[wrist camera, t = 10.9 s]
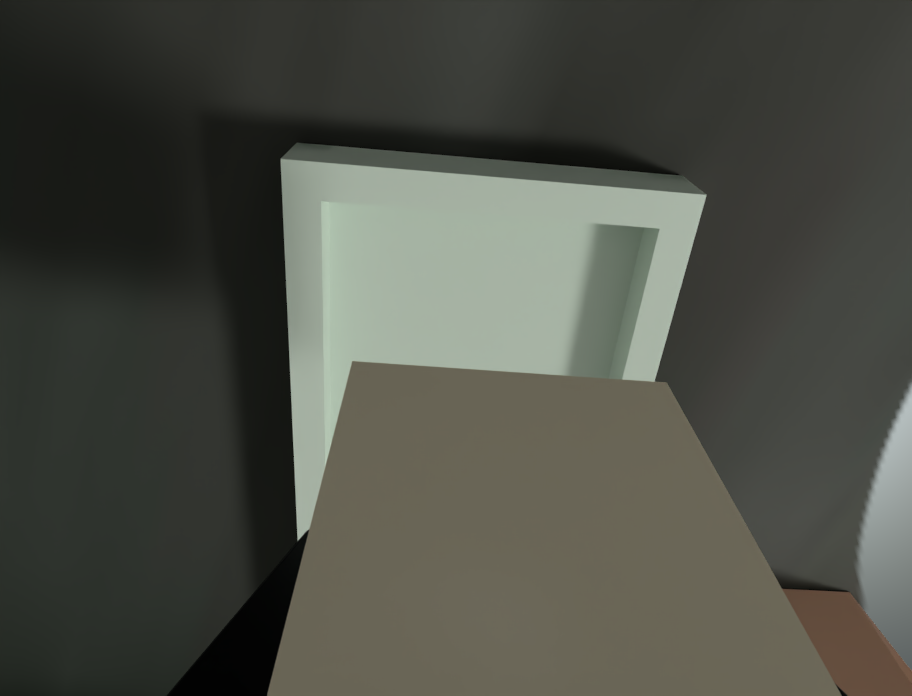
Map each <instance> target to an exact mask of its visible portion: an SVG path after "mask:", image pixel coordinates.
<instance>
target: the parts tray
mask: <svg viewBox="0 0 912 696" xmlns="http://www.w3.org/2000/svg"><path fill="white" fill-rule="evenodd" d="M281 180H282V203H283V225H284V247H285V269H286V292H287V314H288V336H289V359H290V381H291V403H292V426H293V448H294V470H295V493H296V515H297V537H298V540H299V539H300V538H301V537H302V536H303V534H304V533H305V532H306V531H307V530H309V529H310V525H311V521H312V517H313V513H314V509H315V505H316V501H317V497H318V494H319V490H320V486H321V482H322V478H323V474H324V470H325V466H326V462H327V458H328V454H329V450H330V447H331V443H332V439H333V435H334V431H335V427H336V423H337V419H338V415H339V411H340V407H341V403H342V400H343V396H344V392H345V388H346V384H347V380H348V376H349V372H350V368H351V364H352V361H359V362H373V363H388V364H403V365H417V366H432V367H446V368H461V369H476V370H490V371H505V372H520V373H534V374H549V375H564V376H578V377H593V378H607V379H622V380H637V381H651V382H654V381H655V378H656V374H657V371H658V367H659V363H660V360H661V356H662V353H663V349H664V345H665V342H666V338H667V335H668V331H669V328H670V324H671V320H672V317H673V313H674V310H675V306H676V302H677V299H678V295H679V292H680V288H681V284H682V281H683V277H684V274H685V270H686V267H687V263H688V259H689V256H690V252H691V249H692V245H693V241H694V238H695V234H696V231H697V227H698V223H699V220H700V216H701V213H702V209H703V206H704V202H705V198H706V194H705V193H703V192H702V191H701V190H700V189H698V188H697V187H696V186H695V185H693V184H692V183H691V182H689V181H688V180H687V179H686V178H684V177H683V176H681V175H669V174H657V173H646V172H634V171H622V170H611V169H599V168H587V167H576V166H564V165H552V164H541V163H529V162H517V161H506V160H494V159H483V158H471V157H459V156H448V155H436V154H424V153H413V152H401V151H389V150H378V149H366V148H354V147H343V146H331V145H319V144H308V143H296V144H295V145H294V146H293V147H292V148H291V149H290V150H289V151H288V152H287V153H286V154H285V155H284V156H283V157H282V158H281Z"/></svg>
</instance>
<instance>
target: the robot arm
mask: <svg viewBox="0 0 912 696" xmlns="http://www.w3.org/2000/svg"><path fill="white" fill-rule="evenodd" d="M308 533H309V530H307V531H306V532H305V533H304V534H303V536H302V537H301V538H300V539H299V540H298V541H297V543H296V544H295V545H294V546H293V547H292V548H291V550H290V551H289V552H288V553H287V554H286V556H285V557H284V558H283V559H282V560H281V561H280V563H279V564H278V565H277V566H276V567H275V569H274V570H273V571H272V572H271V573H270V574H269V576H268V577H267V578H266V579H265V580H264V581H263V583H262V584H261V585H260V586H259V587H258V589H257V590H256V591H255V592H254V593H253V594H252V596H251V597H250V598H249V599H248V600H247V601H246V603H245V604H244V605H243V606H242V607H241V609H240V610H239V611H238V612H237V613H236V614H235V616H234V617H233V618H232V619H231V620H230V621H229V623H228V624H227V625H226V626H225V627H224V629H223V630H222V631H221V632H220V633H219V634H218V636H217V637H216V638H215V639H214V640H213V642H212V643H211V644H210V645H209V646H208V647H207V649H206V650H205V651H204V652H203V653H202V654H201V656H200V657H199V658H198V659H197V660H196V662H195V663H194V664H193V665H192V666H191V667H190V669H189V670H188V671H187V672H186V673H185V674H184V676H183V677H182V678H181V679H180V680H179V682H178V683H177V684H176V685H175V686H174V687H173V689H172V690H171V691H170V692H169V693H168V694H167V696H267V693H268V689H269V686H270V682H271V678H272V674H273V670H274V666H275V662H276V658H277V654H278V650H279V646H280V642H281V638H282V635H283V631H284V627H285V623H286V619H287V615H288V611H289V607H290V603H291V599H292V595H293V591H294V588H295V584H296V580H297V576H298V572H299V568H300V564H301V560H302V556H303V552H304V548H305V544H306V541H307V537H308ZM836 686H837V685H836ZM837 688H838V690H839V692H840V693H841V695H842V696H848V695H847V694H846V693H845V692H844V691H843V690H842V689H840V688H839V687H838V686H837Z"/></svg>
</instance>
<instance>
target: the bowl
mask: <svg viewBox="0 0 912 696" xmlns="http://www.w3.org/2000/svg"><path fill="white" fill-rule="evenodd" d="M782 590H783V592H784V593H785V595H786V597H787V599H788V600H789V602H790V604H791V606H792V608H793V609H794V611H795V613H796V615H797V617H798V618H799V620H800V622H801V624H802V625H803V627H804V629H805V631H806V633H807V634H808V636H809V638H810V640H811V642H812V643H813V645H814V647H815V649H816V651H817V652H818V654H819V656H820V658H821V659H822V661H823V663H824V665H825V667H826V668H827V670H828V672H829V674H830V676H831V677H832V679H833V681H834V683H835V684H836V685H837V686H838V687H839V688H840V689H842V690H843V691H844V692H845V693H846V694H847V695H848V696H912V671H911V669H910V668H909V667H908V666H907V665H906V663H905V662H904V661H903V659H902V658H901V657H900V656H899V654H898V653H897V652H896V651H895V649H894V648H893V647H892V646H891V644H890V643H889V642H888V640H887V639H886V638H885V637H884V635H883V634H882V633H881V632H880V630H879V629H878V628H877V626H876V625H875V624H874V623H873V621H872V620H871V619H870V618H869V616H868V615H867V614H866V613H865V611H864V610H863V609H862V607H861V606H860V605H859V604H858V602H857V601H856V600H855V599H854V597H853V596H852V595H851V593H850V592H836V591H816V590H797V589H782Z"/></svg>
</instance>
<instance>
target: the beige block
mask: <svg viewBox="0 0 912 696" xmlns="http://www.w3.org/2000/svg"><path fill="white" fill-rule="evenodd" d="M267 696H842V695H841V693H840V692H839V690H838V688H837V686H836V684H835V683H834V681H833V679H832V677H831V676H830V674H829V672H828V670H827V668H826V667H825V665H824V663H823V661H822V659H821V658H820V656H819V654H818V652H817V651H816V649H815V647H814V645H813V643H812V642H811V640H810V638H809V636H808V634H807V633H806V631H805V629H804V627H803V625H802V624H801V622H800V620H799V618H798V617H797V615H796V613H795V611H794V609H793V608H792V606H791V604H790V602H789V600H788V599H787V597H786V595H785V593H784V592H783V590H782V588H781V586H780V584H779V583H778V581H777V579H776V577H775V575H774V574H773V572H772V570H771V568H770V566H769V565H768V563H767V561H766V559H765V558H764V556H763V554H762V552H761V550H760V549H759V547H758V545H757V543H756V541H755V540H754V538H753V536H752V534H751V533H750V531H749V529H748V527H747V525H746V524H745V522H744V520H743V518H742V516H741V515H740V513H739V511H738V509H737V508H736V506H735V504H734V502H733V500H732V499H731V497H730V495H729V493H728V491H727V490H726V488H725V486H724V484H723V482H722V481H721V479H720V477H719V475H718V474H717V472H716V470H715V468H714V466H713V465H712V463H711V461H710V459H709V457H708V456H707V454H706V452H705V450H704V449H703V447H702V445H701V443H700V441H699V440H698V438H697V436H696V434H695V432H694V431H693V429H692V427H691V425H690V423H689V422H688V420H687V418H686V416H685V415H684V413H683V411H682V409H681V407H680V406H679V404H678V402H677V400H676V398H675V397H674V395H673V393H672V391H671V390H670V388H669V386H668V384H667V383H666V382H651V381H637V380H622V379H607V378H593V377H578V376H564V375H549V374H534V373H520V372H505V371H490V370H476V369H461V368H446V367H432V366H417V365H403V364H388V363H373V362H359V361H352V364H351V368H350V372H349V376H348V380H347V384H346V388H345V392H344V396H343V400H342V403H341V407H340V411H339V415H338V419H337V423H336V427H335V431H334V435H333V439H332V443H331V447H330V450H329V454H328V458H327V462H326V466H325V470H324V474H323V478H322V482H321V486H320V490H319V494H318V497H317V501H316V505H315V509H314V513H313V517H312V521H311V525H310V529H309V533H308V537H307V541H306V544H305V548H304V552H303V556H302V560H301V564H300V568H299V572H298V576H297V580H296V584H295V588H294V591H293V595H292V599H291V603H290V607H289V611H288V615H287V619H286V623H285V627H284V631H283V635H282V638H281V642H280V646H279V650H278V654H277V658H276V662H275V666H274V670H273V674H272V678H271V682H270V686H269V689H268V693H267Z"/></svg>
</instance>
